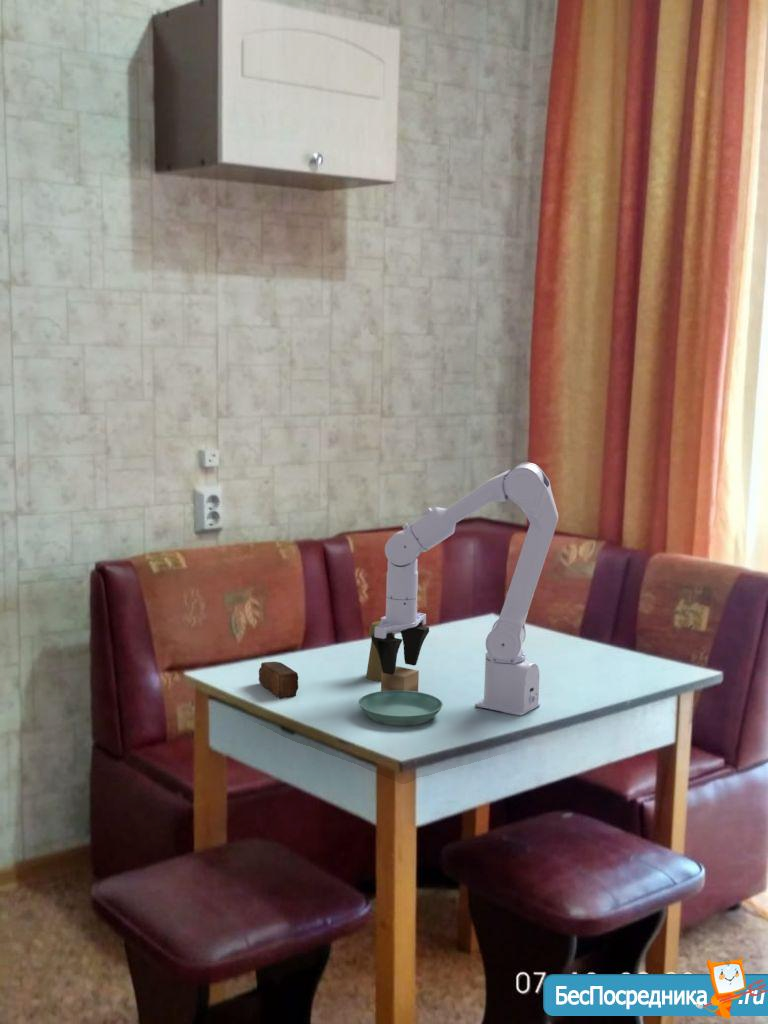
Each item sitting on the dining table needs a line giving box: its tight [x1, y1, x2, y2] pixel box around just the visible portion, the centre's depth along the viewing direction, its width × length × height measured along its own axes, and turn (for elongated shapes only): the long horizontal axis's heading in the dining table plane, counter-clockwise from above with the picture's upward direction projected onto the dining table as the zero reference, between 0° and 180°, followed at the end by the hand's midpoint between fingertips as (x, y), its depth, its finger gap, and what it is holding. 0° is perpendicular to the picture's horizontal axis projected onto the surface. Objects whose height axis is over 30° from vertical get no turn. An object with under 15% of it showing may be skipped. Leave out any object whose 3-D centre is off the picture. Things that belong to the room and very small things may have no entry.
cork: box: [365, 620, 396, 682], centre depth 231 cm, size 6×6×11 cm
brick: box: [258, 661, 299, 699], centre depth 222 cm, size 11×4×5 cm, turn 27°
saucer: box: [358, 690, 444, 727], centre depth 208 cm, size 15×15×3 cm
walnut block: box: [380, 665, 420, 692], centre depth 219 cm, size 5×5×5 cm
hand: (399, 668), depth 218 cm, fingers open, 7 cm apart
